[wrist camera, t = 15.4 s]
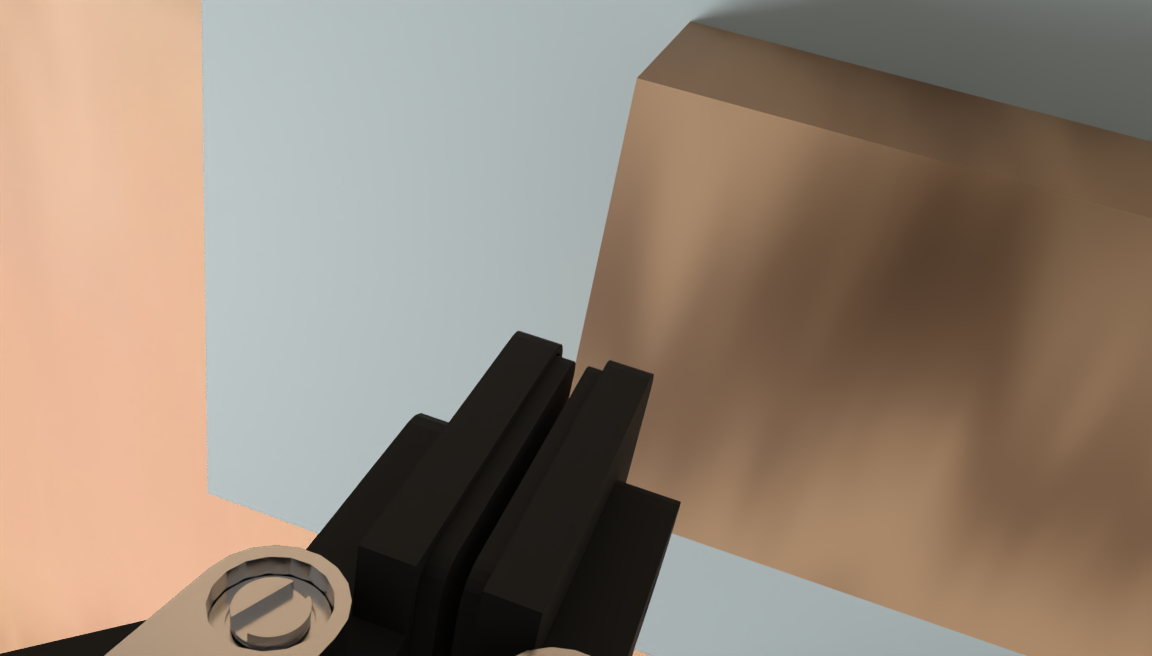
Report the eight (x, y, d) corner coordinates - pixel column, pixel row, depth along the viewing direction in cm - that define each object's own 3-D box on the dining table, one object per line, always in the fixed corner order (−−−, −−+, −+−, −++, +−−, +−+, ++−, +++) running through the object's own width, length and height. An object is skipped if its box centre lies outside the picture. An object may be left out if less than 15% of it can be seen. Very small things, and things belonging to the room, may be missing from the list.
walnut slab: (636, 77, 13) (1578, 334, 11) (690, 21, 16) (1445, 218, 14) (547, 490, 17) (1252, 733, 15) (605, 382, 20) (1200, 575, 18)
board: (253, -571, 15) (194, -600, 14) (1752, -308, 12) (1846, -317, 11) (243, 457, 26) (207, 493, 25) (1053, 747, 23) (1060, 804, 21)
